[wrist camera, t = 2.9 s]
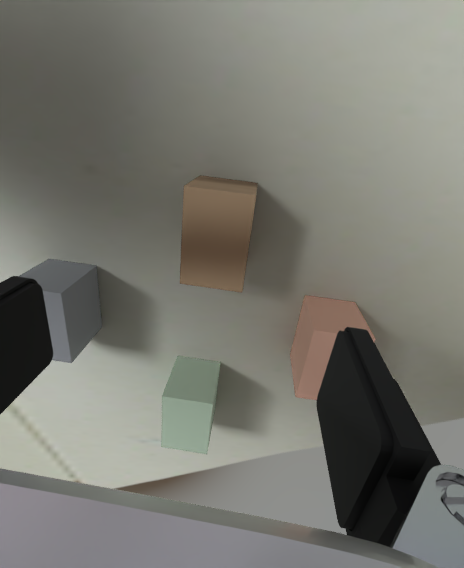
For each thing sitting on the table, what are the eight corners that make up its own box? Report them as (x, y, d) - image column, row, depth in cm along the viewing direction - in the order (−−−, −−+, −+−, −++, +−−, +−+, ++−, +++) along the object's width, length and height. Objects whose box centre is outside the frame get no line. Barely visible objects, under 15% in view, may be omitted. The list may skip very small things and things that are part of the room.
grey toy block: (49, 258, 25) (3, 285, 21) (96, 265, 25) (60, 293, 21) (59, 319, 28) (20, 355, 23) (102, 326, 28) (71, 362, 23)
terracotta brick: (304, 294, 25) (314, 330, 20) (354, 301, 24) (375, 339, 20) (290, 354, 27) (295, 397, 23) (335, 360, 27) (349, 405, 23)
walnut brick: (200, 175, 21) (183, 185, 17) (257, 182, 21) (256, 195, 17) (195, 255, 24) (179, 283, 19) (245, 262, 24) (242, 292, 19)
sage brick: (178, 355, 28) (162, 396, 24) (220, 361, 28) (213, 404, 24) (175, 402, 31) (161, 446, 27) (215, 408, 31) (207, 454, 26)
